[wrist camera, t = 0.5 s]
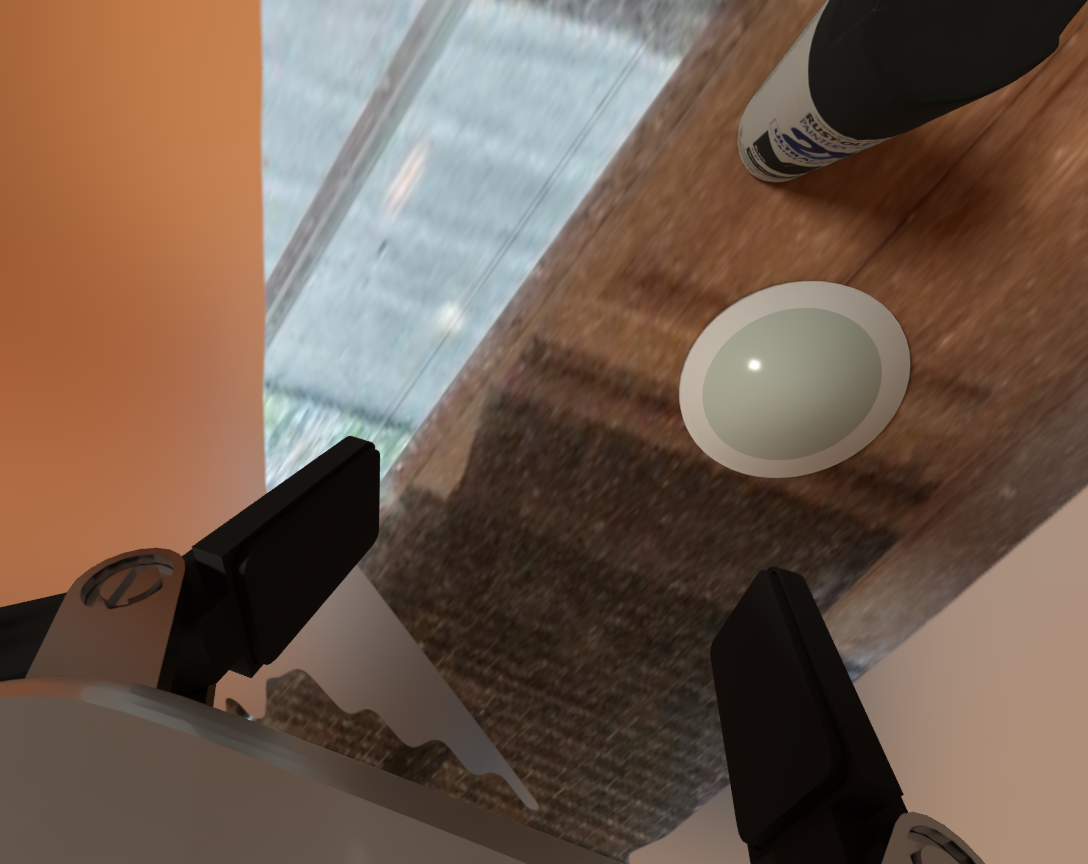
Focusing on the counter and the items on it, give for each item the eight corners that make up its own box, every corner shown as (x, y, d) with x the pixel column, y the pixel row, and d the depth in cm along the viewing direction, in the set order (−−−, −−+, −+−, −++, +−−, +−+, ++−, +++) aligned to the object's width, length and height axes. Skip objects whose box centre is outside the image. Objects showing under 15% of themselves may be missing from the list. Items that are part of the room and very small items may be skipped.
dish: (722, 258, 34) (725, 258, 33) (952, 309, 32) (963, 311, 31) (653, 443, 42) (654, 449, 41) (833, 492, 40) (839, 500, 39)
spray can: (720, 173, 31) (822, 91, 14) (758, 61, 28) (954, -232, 11) (808, 191, 31) (1035, 129, 13) (857, 78, 28) (1240, -204, 10)
